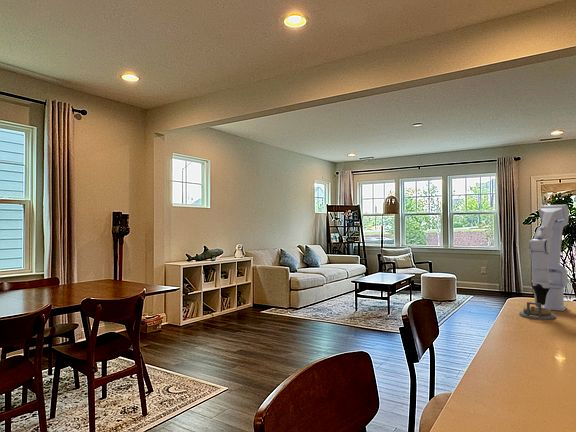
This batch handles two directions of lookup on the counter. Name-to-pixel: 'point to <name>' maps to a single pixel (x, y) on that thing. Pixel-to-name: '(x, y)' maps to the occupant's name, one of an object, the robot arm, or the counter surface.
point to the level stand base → (540, 316)
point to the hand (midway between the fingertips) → (541, 304)
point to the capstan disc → (537, 310)
